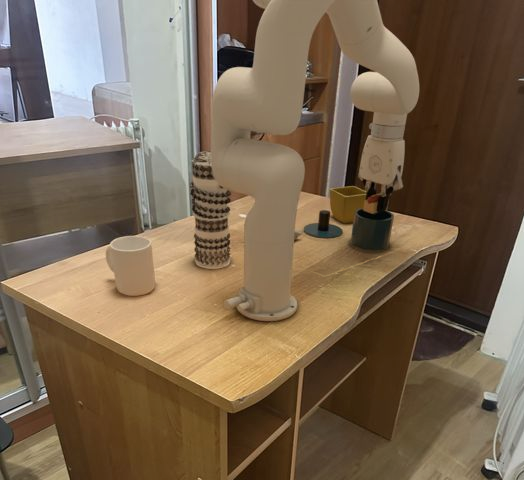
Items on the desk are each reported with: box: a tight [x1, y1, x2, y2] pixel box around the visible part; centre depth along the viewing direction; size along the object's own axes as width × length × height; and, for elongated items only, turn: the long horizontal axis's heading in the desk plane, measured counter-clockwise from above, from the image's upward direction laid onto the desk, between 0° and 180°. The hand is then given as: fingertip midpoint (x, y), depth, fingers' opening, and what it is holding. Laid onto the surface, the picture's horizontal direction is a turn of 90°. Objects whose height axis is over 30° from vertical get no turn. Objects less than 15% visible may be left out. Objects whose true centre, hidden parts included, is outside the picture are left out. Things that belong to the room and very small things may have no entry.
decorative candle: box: [189, 150, 232, 270], centre depth 112 cm, size 9×9×25 cm
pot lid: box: [303, 209, 343, 239], centre depth 136 cm, size 11×11×6 cm
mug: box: [105, 235, 156, 297], centre depth 104 cm, size 12×8×10 cm
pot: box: [350, 208, 395, 252], centre depth 129 cm, size 10×10×8 cm
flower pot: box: [329, 185, 367, 224], centre depth 144 cm, size 9×9×9 cm
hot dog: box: [363, 192, 390, 214], centre depth 125 cm, size 6×3×4 cm, turn 130°
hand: (375, 208), depth 126 cm, fingers closed on hot dog, 3 cm apart
